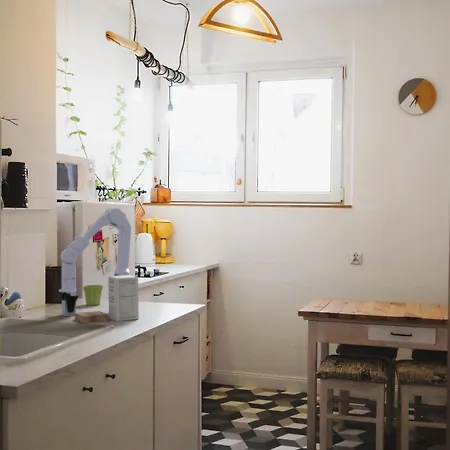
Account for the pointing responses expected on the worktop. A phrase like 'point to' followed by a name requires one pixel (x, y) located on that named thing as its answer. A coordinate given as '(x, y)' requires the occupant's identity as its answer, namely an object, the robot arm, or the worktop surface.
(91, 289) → the plant pot
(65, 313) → the slate block
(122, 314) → the supplement box
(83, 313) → the tan flat square block
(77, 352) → the worktop surface
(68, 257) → the robot arm
